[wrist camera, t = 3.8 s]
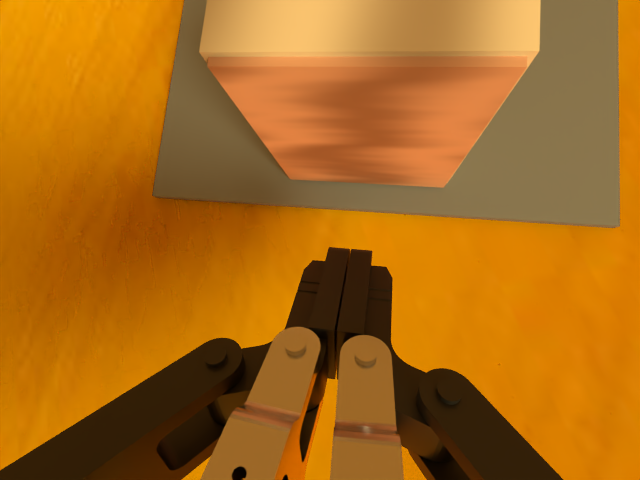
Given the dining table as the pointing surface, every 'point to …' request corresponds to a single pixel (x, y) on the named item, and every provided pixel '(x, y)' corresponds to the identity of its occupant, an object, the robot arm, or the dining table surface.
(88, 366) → the dining table surface
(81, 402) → the dining table surface
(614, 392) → the dining table surface
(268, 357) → the robot arm
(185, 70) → the mat
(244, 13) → the tan wooden block
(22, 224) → the dining table surface
